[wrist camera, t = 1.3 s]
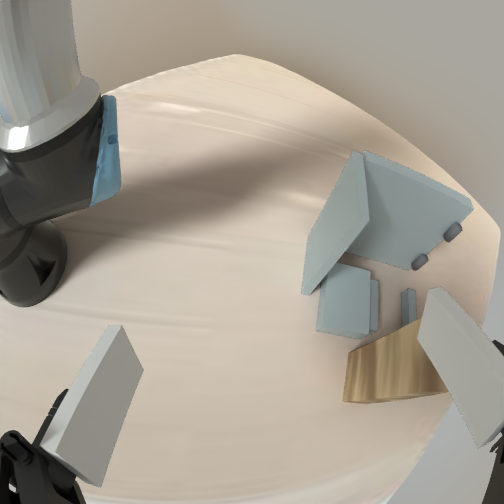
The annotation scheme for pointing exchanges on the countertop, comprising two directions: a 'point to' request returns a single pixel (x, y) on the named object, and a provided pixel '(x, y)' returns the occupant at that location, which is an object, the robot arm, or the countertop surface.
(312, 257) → the cabinet
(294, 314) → the countertop surface
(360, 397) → the door panel
